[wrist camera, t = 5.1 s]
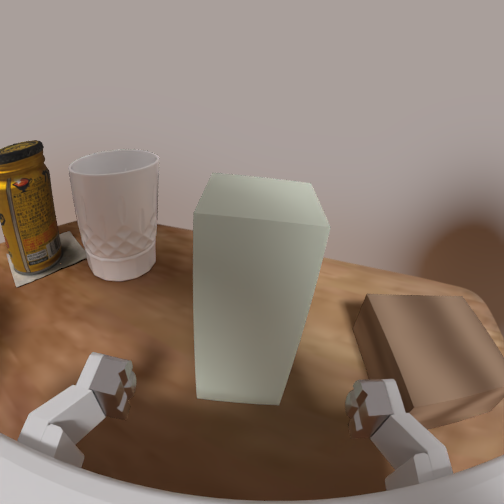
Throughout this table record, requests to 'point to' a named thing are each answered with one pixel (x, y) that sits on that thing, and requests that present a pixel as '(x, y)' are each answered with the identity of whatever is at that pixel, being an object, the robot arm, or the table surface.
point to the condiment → (31, 216)
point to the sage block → (253, 283)
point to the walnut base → (431, 355)
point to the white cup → (117, 211)
